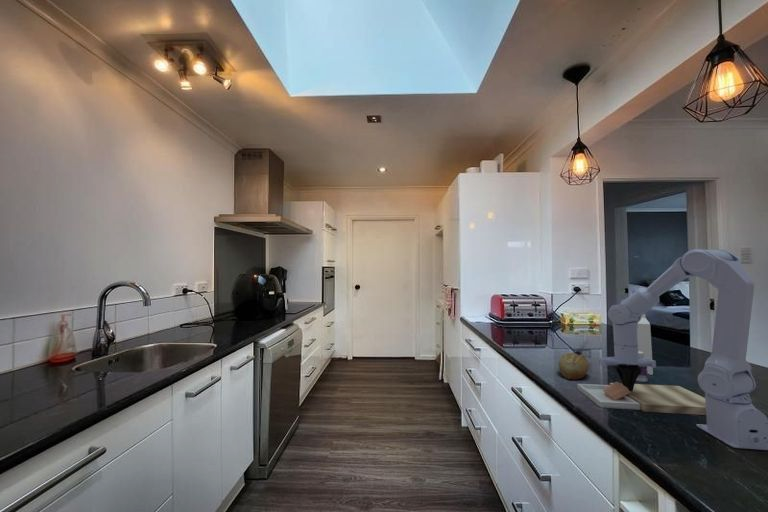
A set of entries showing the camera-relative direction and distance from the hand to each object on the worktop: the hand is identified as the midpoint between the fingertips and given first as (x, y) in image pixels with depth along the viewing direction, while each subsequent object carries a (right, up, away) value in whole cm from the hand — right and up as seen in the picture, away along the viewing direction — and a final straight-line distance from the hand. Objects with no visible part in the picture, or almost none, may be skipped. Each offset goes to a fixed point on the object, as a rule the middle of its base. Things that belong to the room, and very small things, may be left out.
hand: (628, 389), depth 90 cm
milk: (+24, -4, +24) cm, 35 cm away
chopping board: (+9, -3, -2) cm, 10 cm away
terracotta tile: (-3, -1, 0) cm, 3 cm away
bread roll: (-3, -4, +21) cm, 22 cm away
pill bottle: (+17, -4, +16) cm, 24 cm away
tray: (-6, -3, +1) cm, 7 cm away
